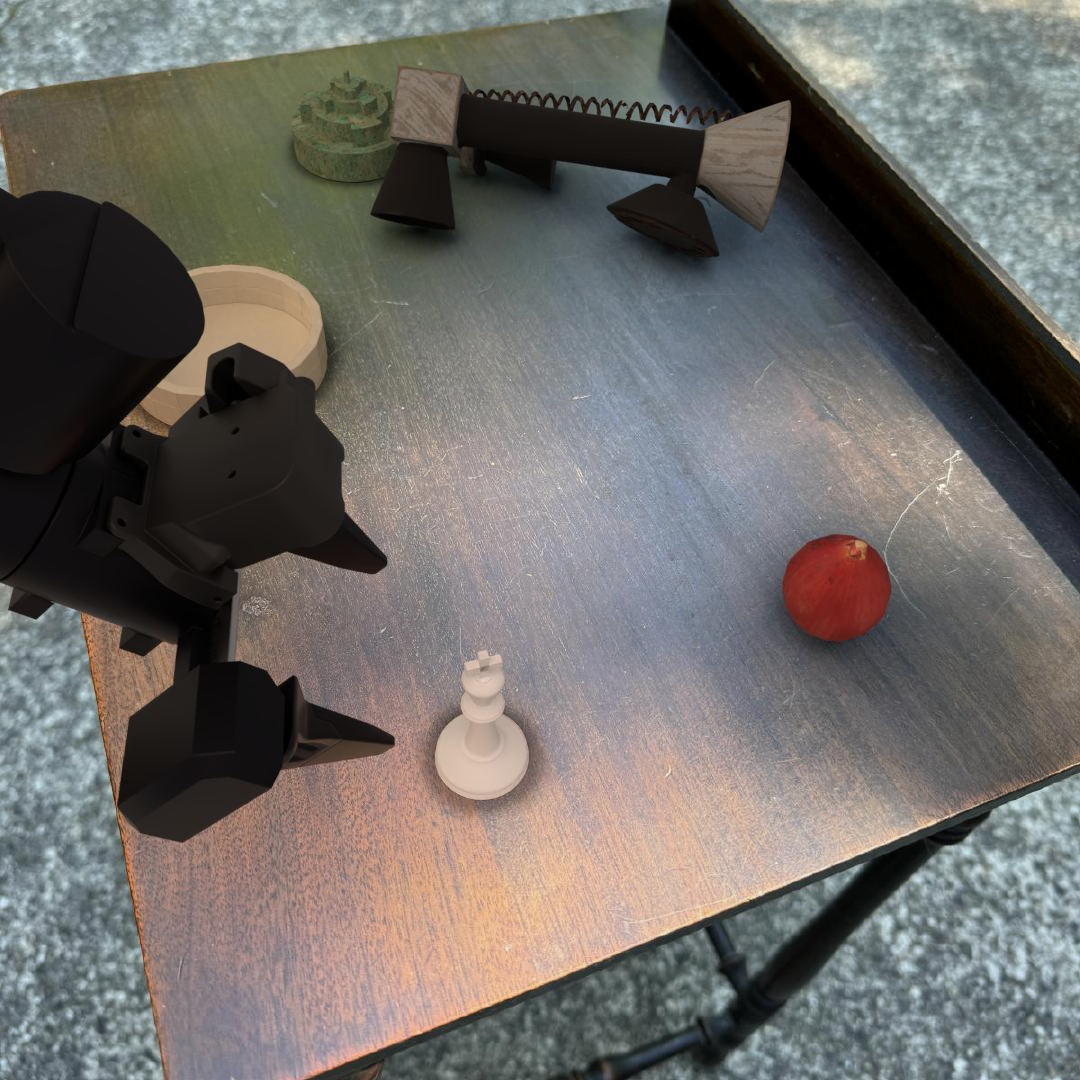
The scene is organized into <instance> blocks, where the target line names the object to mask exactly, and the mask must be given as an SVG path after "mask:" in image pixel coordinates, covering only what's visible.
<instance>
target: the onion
mask: <svg viewBox="0 0 1080 1080" xmlns="http://www.w3.org/2000/svg"><path fill="white" fill-rule="evenodd" d="M781 584H782V585H781V586H782V595H783V601H784V606H785V608H786V611H787V612H788V614H789V615H790V617H791V618H792V620H793V622H794V624H795V625H796V626H798V627H799V628H800V629H802V630H803V631H804V632H805V633H807V634H808V635H810V636H812V637H815V638H817V639H820V640H823V641H825V642H826V641H827V642H841V643H842V642H845V641H848V640H851V639H854V638H857V637H860V636H863V635H866V634H867V633H869V631H870V630H871V629H873V628H874V627H875V626H876V625H877V624H878V623H879V622H881V620H882V619H883V618H884V616H885V614H886V610H887V608H888V605H889V601H890V599H891V596H892V583H891V579H890V572H889V568H888V566H887V564H886V562H885V561H884V560H883V558H882V557H881V555H880V553H879V552H878V551H877V550H876V549H875V548H874V547H872V546H871V545H870V544H869V543H868V542H867V541H866V540H864V539H861V538H859V537H857V536H854V535H852V534H850V535H849V534H839V533H832V534H828V535H825V536H821V537H818V538H815V539H812V540H809V541H808V542H807V543H805V544H804V545H803V546H802V547H801V548H800V549H799V550H798V551H797V552H796V553H794V555H793V556H791V558H790V559H789V561H788V563H787V565H786V568H785V571H784V574H783V578H782V582H781Z"/></svg>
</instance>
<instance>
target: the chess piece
mask: <svg viewBox="0 0 1080 1080" xmlns="http://www.w3.org/2000/svg"><path fill="white" fill-rule="evenodd" d="M476 654H477V655H476V657H477V658H476V659H473V660H468V661H465V662H464V663H463V668H464V669H463V670H462V674H461V679H460V680H461V685H462V688H463V689H464V693H463V694H462V696H461V699H460V709H461V712H462V713H461V714H460V715H457V716H456V717H455V718H453V719H452V720H450V722H448V723H447V725H446V726H445V727H443V729H442V731H441V733H440V734H439V736H438V739H437V742H436V746H435V750H434V763H435V768H436V772H437V774H438V776H439V778H440V779H441V781H442V782H443V783H444V784H445V786H446V787H447V788H448V789H449V790H451V791H453V793H455V794H457V795H459V796H461V797H462V798H463V797H464V798H466V799H470V800H474V801H475V800H477V801H486V800H493V799H498V798H499V797H503V796H504V795H506V794H508V793H509V792H511V791H512V790H514V789H515V788H516V787H517V786H518V785H519V784H520V783H521V781H522V780H523V778H524V777H525V775H526V773H527V770H528V767H529V763H530V762H529V761H530V751H529V746H528V741H527V738H526V736H525V733H524V732H523V730H522V728H521V727H520V726H519V725H518V724H517V723H516V722H515V721H514V720H513V719H512V718H510V717H509V716H507V715H505V714H504V710H505V708H506V701H505V697H504V695H503V692H501V691H502V690H503V688H504V685H505V681H506V680H505V679H506V676H505V672H504V670H503V669H502V668H503V663H504V662H503V659H502V657H501V653H498V654H494V655H490V656H489V652H488V650H487V649H484V650H481V651H477V653H476Z"/></svg>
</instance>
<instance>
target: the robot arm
mask: <svg viewBox="0 0 1080 1080" xmlns="http://www.w3.org/2000/svg"><path fill="white" fill-rule="evenodd" d="M187 271H188V270H187V269H186V267H185V265H184V264H183V263H182V262H181V260H180V259H179V258H178V257H177V255H176V254H175V253H174V252H173V250H172V249H171V248H170V247H169V246H168V245H167V243H165V242H164V241H163V240H162V239H161V238H160V237H159V236H158V235H157V234H156V233H155V232H154V231H153V230H152V229H151V228H149V227H148V226H147V225H146V224H144V223H143V222H141V221H140V220H139V219H137V218H136V217H135V216H134V215H132V214H131V213H130V212H128V211H126V210H125V209H123V208H122V207H120V206H118V205H117V204H114V203H113V202H111V201H108V200H107V201H106V200H105V201H103V202H102V203H100V202H97V201H95V200H92V199H89V198H87V197H85V196H83V195H79V194H75V193H70V192H66V191H61V190H36V191H33V192H29V193H26V194H23V195H21V196H18V197H17V196H16V195H13V194H12V193H10V192H9V191H7V190H6V189H4V188H2V187H0V584H2V585H5V586H8V587H11V588H12V592H11V594H10V600H9V603H8V607H7V611H10V612H11V613H16V614H19V615H21V616H23V617H26V618H30V619H32V620H35V621H37V620H38V619H39V618H40V617H41V616H43V615H44V614H45V613H46V612H47V611H49V609H50V608H51V607H53V606H54V605H55V604H58V605H61V606H63V607H65V608H69V609H71V610H75V611H77V612H80V613H82V614H85V615H88V616H90V617H94V618H97V619H99V620H102V621H105V622H107V623H110V624H113V625H116V626H119V627H121V632H120V637H119V645H118V649H119V650H123V651H125V652H128V653H131V654H133V655H135V656H136V655H137V656H139V657H142V658H144V657H146V656H147V655H148V654H150V653H151V652H152V651H153V650H154V649H156V648H157V647H158V646H159V645H161V644H162V643H166V644H167V643H168V644H169V645H176V651H175V661H174V671H173V678H172V684H171V685H170V686H169V687H167V688H166V689H165V690H164V691H162V692H160V694H158V695H157V696H155V697H154V698H153V699H151V700H150V701H149V702H147V703H146V704H145V705H143V706H142V707H141V708H139V709H138V710H136V711H135V712H134V713H133V714H132V715H130V716H129V717H128V724H127V729H126V737H125V745H124V750H123V751H124V752H123V758H122V766H121V774H120V781H119V787H118V793H117V794H118V795H117V802H116V809H118V810H119V812H120V814H121V815H122V817H123V819H125V821H126V822H127V824H128V825H130V826H131V827H132V828H133V829H134V830H136V831H137V832H138V833H139V834H141V835H145V836H150V837H154V838H159V839H163V840H166V841H167V840H168V841H172V842H177V843H179V844H184V843H185V842H187V841H189V840H190V839H191V838H194V837H195V836H197V835H199V834H200V833H202V832H204V831H205V830H206V829H208V828H210V827H211V826H213V825H215V824H216V823H218V822H220V821H221V820H223V819H225V818H226V817H228V816H229V815H231V814H233V813H235V812H236V811H237V810H239V809H241V808H242V807H244V806H245V805H247V804H249V803H250V802H253V801H255V799H257V798H259V797H260V796H262V795H263V794H265V793H267V792H268V791H270V790H272V788H273V787H274V785H275V783H276V780H277V778H278V777H279V775H280V772H281V771H286V770H291V769H292V770H293V769H297V768H304V767H310V766H311V767H312V766H316V765H323V764H324V765H325V764H329V763H337V762H343V761H350V760H356V759H363V758H368V757H369V758H370V757H375V756H376V757H377V756H380V755H382V754H385V753H386V752H388V751H390V750H392V749H393V748H394V747H395V746H396V737H395V736H394V735H393V734H391V733H390V732H388V731H385V730H383V729H382V728H380V727H379V726H376V725H374V724H372V723H369V722H367V721H364V720H361V719H358V718H355V717H352V716H349V715H346V714H344V713H340V712H338V711H335V710H332V709H329V708H327V707H324V706H321V705H319V704H315V703H312V702H310V701H308V700H306V699H305V696H304V693H303V690H302V687H301V684H300V681H299V678H298V677H297V675H294V674H292V675H291V676H289V677H288V678H286V679H285V680H284V681H282V682H281V683H280V684H278V685H277V683H276V682H275V680H274V679H273V678H272V676H271V674H270V673H269V671H268V670H267V669H264V668H261V667H259V666H255V665H253V664H250V663H247V662H245V661H242V660H236V659H237V645H238V628H239V618H240V617H239V614H240V599H241V588H242V586H241V585H242V573H243V572H242V571H243V569H244V568H248V567H250V566H253V565H256V564H258V563H261V562H264V561H266V560H268V559H271V558H274V557H277V556H279V555H282V554H285V553H289V554H292V555H296V556H299V557H301V558H304V559H308V560H312V561H315V562H319V563H321V564H325V565H327V566H332V567H335V568H338V569H342V570H346V571H351V572H357V573H362V574H367V575H376V574H378V573H380V572H381V571H382V570H383V569H385V568H386V567H387V566H388V565H389V562H388V556H387V555H386V554H385V553H384V552H383V551H382V550H381V548H380V547H379V546H378V545H377V544H376V543H375V542H374V541H373V540H372V538H370V537H369V535H368V534H367V533H366V532H365V531H364V530H363V529H362V528H361V526H359V525H358V524H357V522H356V521H355V520H353V518H352V517H351V516H350V515H349V514H348V513H347V512H346V502H345V500H344V497H343V473H342V471H343V470H342V469H343V467H342V465H343V464H342V463H344V461H345V457H346V456H345V447H344V445H343V443H342V442H341V441H340V440H339V439H338V438H337V437H336V435H335V434H334V433H333V432H332V430H330V428H329V427H328V426H327V425H326V424H325V423H324V421H323V420H322V419H321V418H320V417H319V415H318V414H316V392H317V390H316V386H315V383H314V382H313V380H311V379H310V378H307V377H301V376H300V377H295V376H294V374H293V373H292V372H291V371H290V370H289V369H288V367H287V366H286V365H285V364H283V363H282V362H280V361H278V360H276V359H274V358H272V357H270V356H268V355H266V354H264V353H262V352H259V351H257V350H255V349H253V348H251V347H249V346H247V345H245V344H243V343H240V342H238V343H236V344H234V345H231V346H229V347H227V348H224V349H222V350H220V351H217V352H215V353H213V354H211V355H210V356H209V357H208V361H207V370H206V379H205V394H204V395H203V396H202V397H201V398H200V399H199V400H198V401H197V402H196V403H195V404H194V405H193V406H192V407H191V408H190V409H189V410H188V411H187V412H186V413H185V414H183V415H182V416H181V417H180V418H179V419H178V420H177V421H176V422H175V423H174V424H173V425H172V426H170V427H168V434H167V436H165V435H161V434H157V433H154V432H151V431H149V430H147V429H145V428H143V427H141V426H140V425H137V424H132V423H131V424H128V425H124V424H122V422H123V421H124V420H125V419H126V418H127V417H128V416H129V415H130V414H131V413H132V412H133V411H134V410H135V409H136V408H137V407H138V406H139V405H140V402H141V401H142V400H143V399H144V398H145V397H146V396H147V395H148V394H149V393H150V392H151V391H152V390H153V389H154V388H155V387H156V386H157V385H158V384H159V383H160V382H161V381H162V380H163V379H164V378H165V377H166V376H167V375H168V374H169V373H170V372H171V371H172V370H173V369H174V368H175V367H176V366H177V365H178V364H179V363H180V362H181V361H182V360H183V359H184V358H185V357H186V356H187V355H188V354H189V353H190V352H191V351H192V350H193V349H194V348H195V347H196V346H197V344H198V342H199V341H200V339H201V337H202V335H203V333H204V328H205V316H204V310H203V304H202V301H201V298H200V295H199V293H198V290H197V288H196V285H195V283H194V282H193V280H192V278H191V277H190V275H189V273H188V272H187Z"/></svg>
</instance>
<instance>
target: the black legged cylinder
mask: <svg viewBox="0 0 1080 1080" xmlns="http://www.w3.org/2000/svg"><path fill="white" fill-rule="evenodd" d="M396 74H397V75H396V83H395V90H394V99H393V101H394V106H393V114H392V122H391V131H390V137H391V138H392V139H393V140H394V141H395V143H396V145H397V148H396V152H395V154H394V157H393V159H392V161H391V164H390V166H389V168H388V171H387V173H386V176H385V177H383V180H382V184H380V185H381V186H380V188H379V191H378V193H377V195H376V198H375V200H374V203H373V205H372V207H371V210H370V212H369V215H370V216H372V217H374V218H376V219H380V220H383V221H386V222H391V223H395V224H400V225H403V226H410V227H416V228H422V229H427V230H429V229H430V230H437V231H456V230H457V229H456V227H457V226H456V218H455V210H454V209H455V208H454V200H453V194H452V186H451V178H450V169H449V162H448V161H449V160H448V157H449V158H456V159H458V168H459V169H460V171H461V172H462V173H463V174H466V175H467V174H468V175H473V176H474V175H475V176H477V175H478V177H483V178H484V177H485V176H486V175H487V174H488V167H487V164H486V162H488V163H490V164H493V165H494V166H497V167H500V168H501V169H504V170H507V171H509V172H511V173H513V174H516V175H517V176H520V177H523V178H524V179H527V180H529V181H532V182H534V183H536V184H539V185H541V186H543V187H545V188H548V189H550V190H552V188H553V184H554V179H555V174H556V169H557V163H558V162H563V163H569V164H576V165H582V166H587V167H588V166H589V167H595V168H600V169H607V170H608V169H609V170H613V171H614V170H615V171H619V172H620V171H621V172H628V173H633V174H635V173H636V174H640V175H648V176H654V177H662V178H666V179H669V180H668V182H667V183H666V184H663V183H658V182H657V183H652V184H651V185H648V186H646V187H644V188H642V189H639V190H638V191H635V192H633V193H632V194H629V195H627V196H625V197H622V198H620V199H618V200H616V201H614V202H612V203H610V204H608V205H606V207H605V208H606V210H607V211H608V213H610V214H611V215H612V216H613V217H614V218H615V219H616V220H617V221H618V222H619V223H621V224H623V225H624V226H626V227H628V228H630V229H631V230H633V231H635V232H637V233H638V234H640V235H643V236H644V237H647V238H648V239H652V240H654V241H656V242H657V243H660V244H662V245H665V246H667V247H670V248H672V249H675V250H677V251H681V252H684V253H686V254H690V255H692V256H693V255H694V256H697V257H701V258H706V259H710V258H717V257H718V258H719V257H720V255H721V253H720V250H719V247H718V243H717V241H716V238H715V235H714V233H713V229H712V227H711V223H710V220H709V217H708V213H707V211H706V208H705V205H704V203H703V202H702V201H701V200H699V199H698V198H697V197H695V194H696V191H697V188H698V189H699V190H701V191H702V192H704V194H706V195H707V196H709V197H710V198H711V199H713V200H714V201H716V202H717V203H718V204H720V205H721V206H722V207H723V208H725V209H727V210H728V211H729V212H730V213H732V214H733V215H735V216H736V217H738V218H739V219H740V220H741V221H742V222H744V223H746V224H747V225H748V226H750V227H751V228H752V229H754V230H755V231H756V232H758V233H760V234H762V233H763V232H764V231H765V228H766V227H767V224H768V222H769V220H770V216H771V214H772V211H773V208H774V204H775V201H776V197H777V194H778V190H779V185H780V181H781V178H782V173H783V169H784V163H785V160H786V159H785V158H786V153H787V147H788V142H789V135H790V127H791V119H792V118H791V117H792V103H791V100H789V99H788V100H785V101H781V102H778V103H775V104H772V105H769V106H766V107H763V108H760V109H757V110H754V111H752V112H748V113H746V112H744V111H743V112H739V113H737V115H736V117H734V115H733V112H732V111H731V110H730V109H725V110H723V112H722V113H721V114H720V116H719V114H718V111H717V109H715V108H714V107H711V108H709V109H708V110H707V112H706V113H705V115H704V114H703V110H702V108H701V107H700V106H698V105H697V106H694V107H693V108H692V109H691V111H690V112H689V113H688V111H687V108H686V106H685V105H684V104H681V105H679V106H678V107H677V108H676V109H675V111H674V113H673V107H672V106H671V104H667V103H664V104H663V105H661V107H660V108H659V110H658V106H657V105H656V103H655V102H648V104H647V106H646V107H645V109H644V108H643V106H642V103H641V102H640V101H635V102H633V103H632V104H631V106H630V107H629V106H628V104H627V102H626V101H624V100H623V99H621V100H619V101H617V104H616V106H614V103H613V101H612V99H610V98H608V97H606V98H604V99H603V100H602V101H601V104H600V103H599V101H598V99H597V98H596V97H595V96H591V97H589V98H588V99H587V100H586V102H585V100H584V98H583V97H582V96H580V95H575V96H574V97H573V98H572V100H571V98H570V97H569V96H567V95H565V94H564V95H563V94H562V95H560V97H559V98H558V100H557V98H556V96H555V95H554V93H552V92H548V93H546V95H544V96H543V98H542V96H541V95H540V93H539V92H538V91H537V90H534V91H533V92H531V94H530V96H529V95H528V94H527V92H526V91H524V90H522V89H521V90H518V91H517V92H516V93H515V94H514V93H513V92H512V91H511V90H510V89H504V91H503V92H502V94H501V93H500V91H496V90H495V89H494V88H491V89H489V90H488V92H487V93H486V92H485V91H484V90H482V89H480V88H477V89H475V90H474V92H473V93H472V91H470V90H469V87H468V85H467V83H466V81H465V79H464V77H463V75H462V74H460V73H459V74H458V73H454V72H453V73H452V72H446V71H439V70H434V69H433V70H432V69H426V68H420V67H413V66H408V65H398V67H397V73H396ZM479 94H481V95H482V96H483V97H482V96H478V95H479ZM493 95H495V96H496V97H497V99H495V98H492V97H493ZM507 95H508V96H509V97H510V100H511V101H509V100H505V99H506V96H507ZM521 96H522V97H523V99H524V101H525V103H522V102H521V103H520V102H519V100H520V98H521ZM535 97H536V98H537V101H538V103H539V105H536V104H532V101H533V98H535ZM549 99H551V101H552V102H551V103H552V106H553V107H548V106H546V104H547V102H548V101H549ZM564 99H565V103H566V108H567V109H560V108H559V106H561V104H562V102H563V101H564ZM577 102H579V103H580V107H581V111H582V112H581V111H574V109H575V106H576V104H577ZM591 103H593V104H594V105H595V108H596V114H595V113H588V111H589V108H590V106H591ZM606 105H608V107H609V113H610V116H608V115H602V109H603V108H604V107H605V106H606ZM621 106H622V107H623V108H624V107H626V108H627V109H628V110H627V111H626V113H625V116H626V117H625V118H621V117H616V116H617V114H618V113H619V110H620V108H621ZM636 108H637V109H638V114H639V120H633V119H631V118H632V115H633V113H634V111H635V109H636ZM651 109H652V111H653V114H654V115H653V116H654V119H655V122H654V123H653V122H647V121H646V120H647V117H648V114H649V112H650V110H651ZM665 110H668V111H669V112H670V113H669V123H671V124H675V123H676V121H677V119H678V116H679V114H680V113H681V111H682V115H683V116H684V117H686V123H685V125H689V124H690V123H691V121H692V119H693V117H694V115H695V114H696V113H697V115H698V120H699V124H700V125H702V126H705V125H706V123H705V122H706V121H707V120H708V119H709V118H710V116H711V115H713V120H714V124H713V125H710V126H708V127H707V128H705V129H694V128H686V127H680V126H673V125H668V124H660V122H661V120H662V117H663V114H664V111H665ZM672 113H673V114H672ZM726 116H728V120H725V121H724V119H725V118H726Z"/></svg>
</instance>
